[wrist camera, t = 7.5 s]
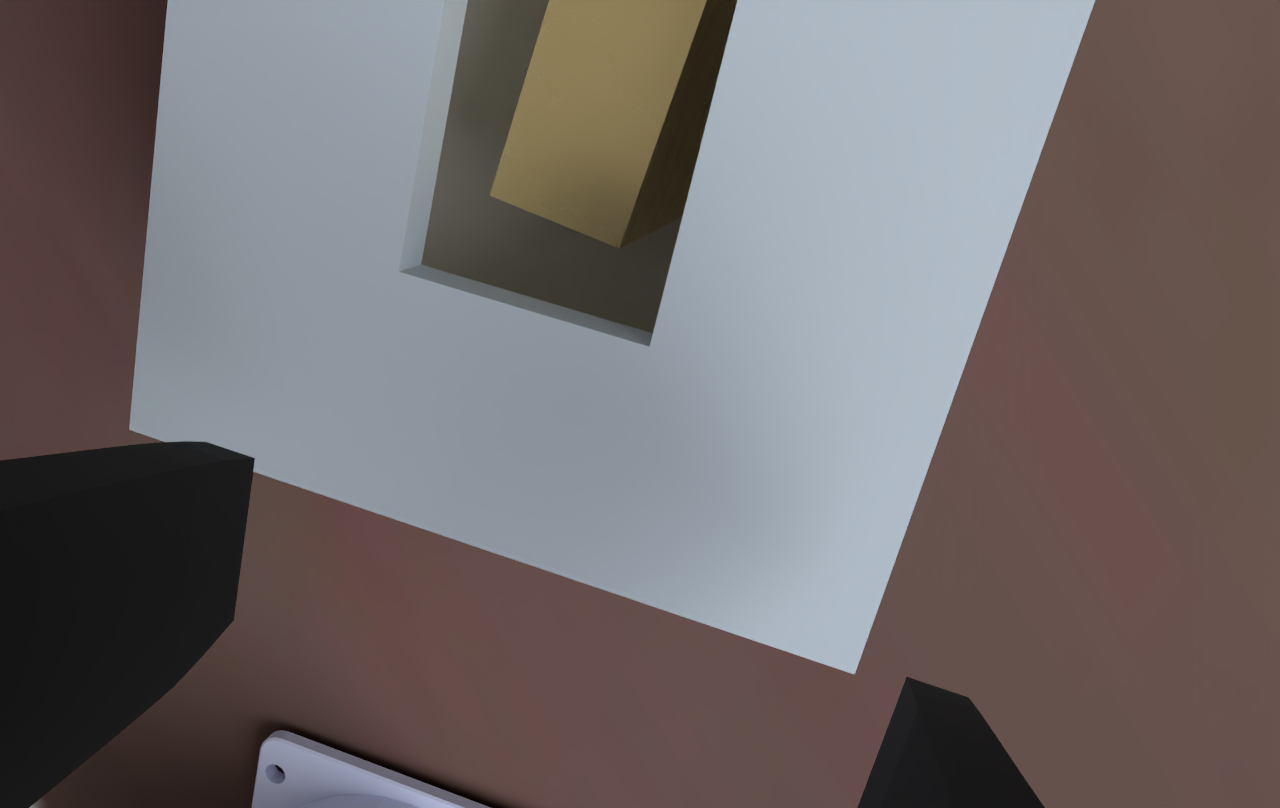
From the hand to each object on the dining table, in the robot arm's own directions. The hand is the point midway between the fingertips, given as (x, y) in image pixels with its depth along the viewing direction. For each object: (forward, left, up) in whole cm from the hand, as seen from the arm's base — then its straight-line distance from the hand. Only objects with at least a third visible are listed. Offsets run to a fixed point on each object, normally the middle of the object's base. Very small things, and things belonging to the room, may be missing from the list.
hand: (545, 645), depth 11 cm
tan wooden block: (+6, +2, -10) cm, 12 cm away
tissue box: (+6, +2, -10) cm, 12 cm away
